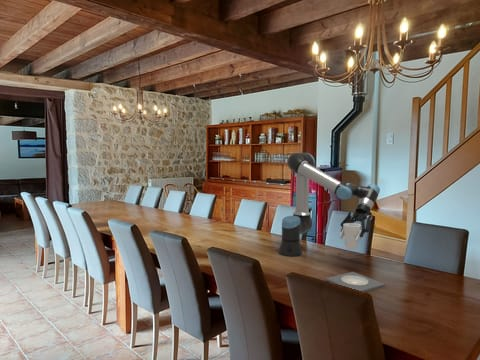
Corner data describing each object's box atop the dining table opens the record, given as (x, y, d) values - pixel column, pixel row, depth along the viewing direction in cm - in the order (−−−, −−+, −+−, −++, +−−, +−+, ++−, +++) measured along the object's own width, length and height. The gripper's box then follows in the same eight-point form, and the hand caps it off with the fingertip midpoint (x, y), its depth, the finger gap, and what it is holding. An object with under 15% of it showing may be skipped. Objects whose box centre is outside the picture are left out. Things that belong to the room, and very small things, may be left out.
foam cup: (348, 250, 187) (349, 227, 186) (339, 246, 196) (339, 223, 195) (364, 249, 190) (364, 226, 188) (353, 244, 198) (354, 222, 197)
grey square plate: (325, 280, 178) (325, 277, 178) (352, 273, 188) (352, 270, 188) (356, 294, 161) (356, 290, 161) (384, 286, 171) (384, 282, 171)
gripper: (385, 214, 193) (369, 247, 184) (349, 209, 209) (333, 239, 200) (380, 205, 189) (364, 239, 180) (345, 201, 205) (328, 231, 196)
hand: (348, 239), depth 190 cm, fingers closed on foam cup, 9 cm apart
